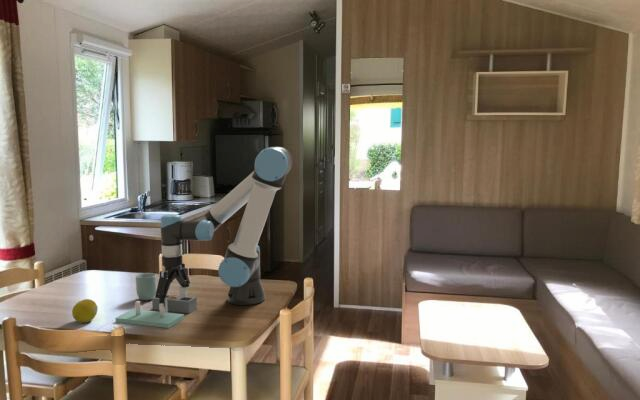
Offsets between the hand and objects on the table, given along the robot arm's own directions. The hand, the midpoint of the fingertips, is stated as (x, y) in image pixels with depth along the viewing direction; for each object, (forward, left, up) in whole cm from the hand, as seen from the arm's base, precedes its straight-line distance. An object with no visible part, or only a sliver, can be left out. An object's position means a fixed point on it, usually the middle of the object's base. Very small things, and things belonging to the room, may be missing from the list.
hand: (174, 308), depth 200 cm
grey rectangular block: (0, 0, 0) cm, 0 cm away
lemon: (+24, +20, 0) cm, 31 cm away
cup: (+18, -8, 0) cm, 19 cm away
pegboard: (+2, +13, 0) cm, 13 cm away
